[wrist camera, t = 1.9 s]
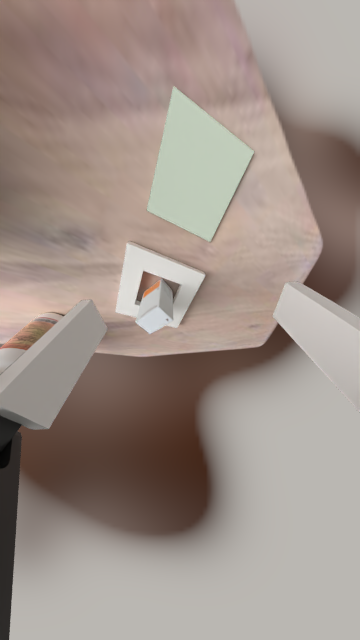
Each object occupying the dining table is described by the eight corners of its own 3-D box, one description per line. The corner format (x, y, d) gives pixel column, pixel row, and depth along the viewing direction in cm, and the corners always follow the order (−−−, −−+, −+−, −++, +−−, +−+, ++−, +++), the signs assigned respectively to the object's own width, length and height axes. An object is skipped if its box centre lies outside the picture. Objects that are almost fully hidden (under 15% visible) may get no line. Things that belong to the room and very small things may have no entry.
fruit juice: (84, 331, 42) (-5, 467, 20) (59, 340, 43) (-49, 475, 22) (56, 306, 36) (-111, 461, 14) (28, 318, 37) (-162, 473, 16)
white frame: (117, 307, 37) (115, 312, 36) (129, 240, 28) (126, 243, 26) (176, 323, 42) (177, 328, 41) (203, 271, 33) (205, 275, 31)
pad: (146, 210, 25) (146, 210, 24) (173, 89, 18) (173, 85, 17) (209, 241, 29) (210, 242, 28) (252, 152, 21) (254, 151, 21)
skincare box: (161, 277, 33) (159, 305, 24) (172, 290, 35) (174, 320, 26) (142, 291, 35) (134, 322, 26) (154, 303, 37) (150, 335, 28)
